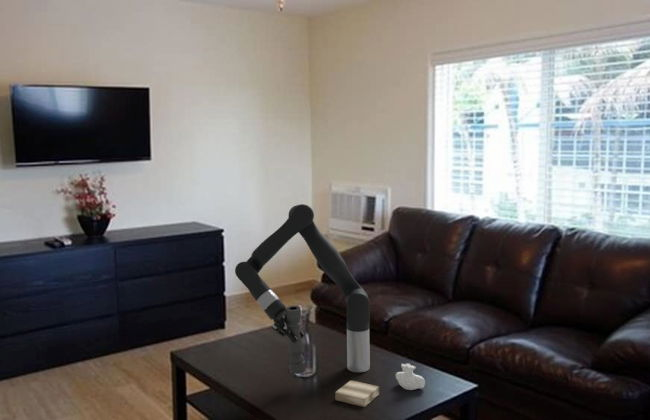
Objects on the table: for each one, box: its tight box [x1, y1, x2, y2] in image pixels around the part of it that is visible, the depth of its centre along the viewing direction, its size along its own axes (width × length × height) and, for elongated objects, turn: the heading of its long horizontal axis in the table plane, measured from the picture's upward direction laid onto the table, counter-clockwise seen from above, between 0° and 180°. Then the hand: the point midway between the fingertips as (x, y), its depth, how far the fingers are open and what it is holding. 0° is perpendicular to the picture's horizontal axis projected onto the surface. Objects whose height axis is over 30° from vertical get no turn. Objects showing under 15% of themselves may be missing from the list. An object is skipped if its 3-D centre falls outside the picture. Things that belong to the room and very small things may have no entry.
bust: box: [395, 363, 426, 391], centre depth 226 cm, size 12×8×11 cm
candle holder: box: [286, 305, 306, 375], centre depth 225 cm, size 6×6×25 cm
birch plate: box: [334, 380, 380, 408], centre depth 220 cm, size 12×12×3 cm
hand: (299, 339), depth 224 cm, fingers closed on candle holder, 4 cm apart
